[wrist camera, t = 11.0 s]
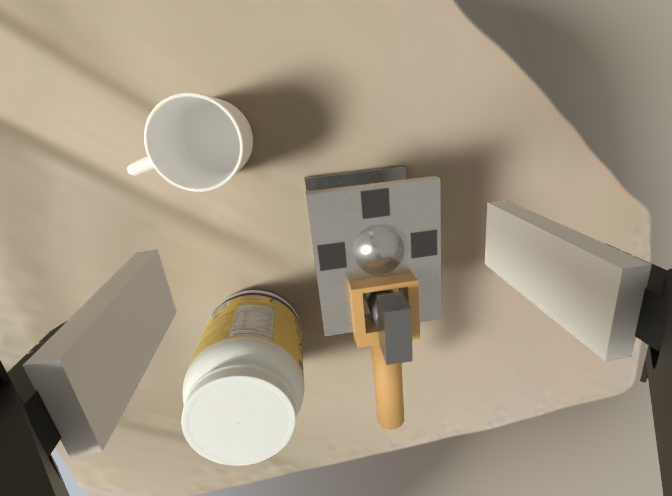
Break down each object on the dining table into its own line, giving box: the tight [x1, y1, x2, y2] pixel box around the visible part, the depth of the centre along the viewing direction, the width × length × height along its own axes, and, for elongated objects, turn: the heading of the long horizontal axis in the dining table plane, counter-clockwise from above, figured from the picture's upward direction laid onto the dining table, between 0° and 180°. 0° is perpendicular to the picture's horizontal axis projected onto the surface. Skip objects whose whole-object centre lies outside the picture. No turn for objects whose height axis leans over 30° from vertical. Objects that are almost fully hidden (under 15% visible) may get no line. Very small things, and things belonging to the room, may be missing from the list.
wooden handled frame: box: [348, 272, 420, 429], centre depth 40 cm, size 17×6×5 cm, turn 6°
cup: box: [127, 93, 253, 192], centre depth 37 cm, size 8×12×10 cm
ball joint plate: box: [305, 166, 441, 336], centre depth 42 cm, size 15×12×12 cm
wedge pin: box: [363, 289, 412, 365], centre depth 40 cm, size 6×3×16 cm, turn 5°
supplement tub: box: [182, 290, 304, 465], centre depth 42 cm, size 12×12×17 cm
